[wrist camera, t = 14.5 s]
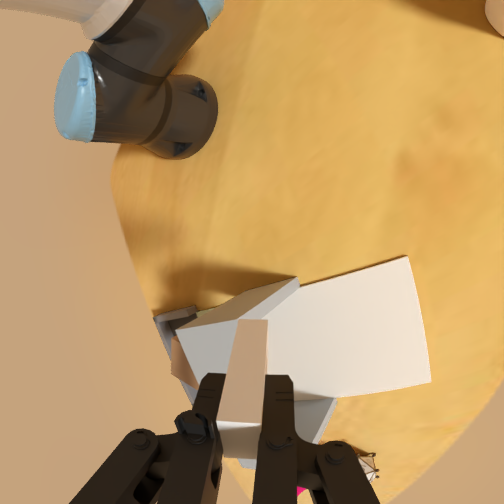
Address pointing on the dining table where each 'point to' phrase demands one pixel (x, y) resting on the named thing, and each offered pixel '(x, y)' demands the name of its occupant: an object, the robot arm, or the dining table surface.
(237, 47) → the dining table surface
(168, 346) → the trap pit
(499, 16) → the pill bottle
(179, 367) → the walnut block
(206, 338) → the tunnel
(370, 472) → the game die
